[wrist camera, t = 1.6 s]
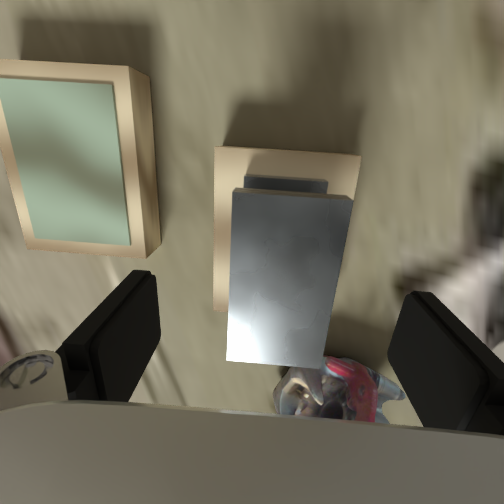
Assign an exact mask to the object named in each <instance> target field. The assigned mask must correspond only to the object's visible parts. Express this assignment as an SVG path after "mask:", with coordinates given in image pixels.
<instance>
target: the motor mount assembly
mask: <svg viewBox="0 0 504 504" xmlns="http://www.w3.org/2000/svg"><path fill="white" fill-rule="evenodd" d="M273 398H274V404H275V408H276V412H277V414H283V415H295V416H307V417H318V418H329V419H341V420H352V421H363V422H374V423H385V424H390V423H389V422H388V420H387V419H386V417H385V416H384V415H383V413H382V404H383V403H384V402H386V401H387V400H403V399H404V398H405V393H404V392H403V391H402V390H401V389H400V388H399V386H398V385H397V384H396V383H394V382H393V381H391V380H389V379H387V378H386V377H384V376H383V375H381V374H379V373H377V372H375V371H374V370H372V369H370V368H368V367H366V366H364V365H362V364H360V363H358V362H357V361H355V360H352V359H350V358H347V357H343V358H335V357H332V356H326V355H323V358H322V363H321V368H320V369H314V368H303V367H293V366H291V367H290V368H289V370H288V372H287V374H286V375H285V376H284V377H283V378H282V379H281V380H280V382H279V383H278V384H277V386H276V388H275V389H274V392H273Z"/></svg>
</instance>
